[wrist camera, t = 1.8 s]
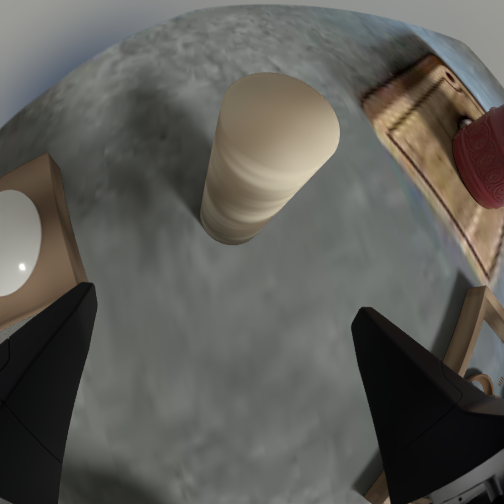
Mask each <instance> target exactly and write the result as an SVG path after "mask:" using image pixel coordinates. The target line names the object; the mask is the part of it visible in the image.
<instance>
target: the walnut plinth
mask: <svg viewBox="0 0 504 504" xmlns="http://www.w3.org/2000/svg"><path fill="white" fill-rule="evenodd" d="M80 282H88V280H87V277H86V273H85V270H84V267H83V264H82V261H81V257H80V254H79V251H78V247H77V244H76V240H75V236H74V233H73V229H72V225H71V221H70V217H69V212H68V208H67V203H66V199H65V194H64V189H63V184H62V179H61V173H60V168H59V167H58V166H57V164H56V163H55V162H54V160H53V159H52V157H51V156H50V155H49V153H48V152H47V153H45V154H43V155H41V156H39V157H37V158H35V159H33V160H31V161H29V162H28V163H26V164H24V165H22V166H20V167H18V168H17V169H15V170H13V171H11V172H10V173H8V174H6V175H5V176H3V177H1V178H0V330H3V329H5V328H7V327H9V326H11V325H13V324H16V323H18V322H20V321H22V320H24V319H26V318H29V317H31V316H33V315H35V314H37V313H40V312H41V311H42V310H44V309H45V308H46V307H48V306H49V305H50V304H52V303H53V302H54V301H56V300H57V299H58V298H60V297H61V296H62V295H64V294H65V293H67V292H68V291H69V290H71V289H72V288H73V287H75V286H76V285H78V284H79V283H80Z"/></svg>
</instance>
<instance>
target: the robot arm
mask: <svg viewBox="0 0 504 504" xmlns="http://www.w3.org/2000/svg"><path fill="white" fill-rule="evenodd" d="M96 312H97V297H96V291H95V286H94V284H93V283H90V282H80V283H79V284H78V285H76V286H75V287H73V288H72V289H71V290H69V291H68V292H67V293H65V294H64V295H62V296H61V297H60V298H58V299H57V300H56V301H54V302H53V303H52V304H50V305H49V306H48V307H46V308H45V309H44V310H42V311H41V312H40V313H39V314H37V315H36V316H35V317H33V318H32V319H31V320H30V321H28V322H27V323H26V324H25V325H23V326H22V327H21V328H20V329H18V330H17V331H16V332H15V333H13V334H12V335H11V336H10V337H9V339H8V338H7V339H6V340H5V341H4V342H2V343H1V344H0V504H58V496H59V487H60V479H61V471H62V463H63V457H64V451H65V446H66V440H67V435H68V430H69V425H70V420H71V416H72V411H73V407H74V403H75V399H76V395H77V391H78V387H79V383H80V379H81V376H82V372H83V368H84V365H85V362H86V358H87V355H88V351H89V346H90V341H91V336H92V331H93V326H94V321H95V317H96ZM351 331H352V336H353V341H354V346H355V352H356V357H357V362H358V367H359V371H360V374H361V378H362V381H363V385H364V388H365V392H366V396H367V400H368V403H369V407H370V411H371V415H372V419H373V423H374V427H375V431H376V435H377V440H378V444H379V448H380V453H381V457H382V462H383V467H384V472H385V477H386V482H387V487H388V492H389V498H390V504H409V503H411V502H413V501H416V500H418V499H420V498H422V497H424V496H426V495H428V494H429V496H430V499H431V502H430V503H428V504H504V398H496V397H492V396H489V395H487V394H486V393H484V392H483V391H481V390H480V389H478V388H477V387H476V386H474V385H473V384H471V383H470V382H468V381H467V380H466V379H464V378H463V377H461V376H460V375H459V374H457V373H456V372H455V371H453V370H452V369H451V368H449V367H448V366H447V365H446V364H444V363H443V362H442V361H439V359H438V358H437V357H435V356H434V355H433V354H432V353H430V352H429V351H428V350H427V349H425V348H424V347H423V346H421V345H420V344H419V343H418V342H416V341H415V340H414V339H412V338H411V337H410V336H409V335H407V334H406V333H405V332H403V331H402V330H401V329H400V328H398V327H397V326H396V325H394V324H393V323H392V322H390V321H389V320H388V319H387V318H385V317H384V316H383V315H381V314H380V313H379V312H377V311H376V310H375V309H373V308H372V307H361V308H360V309H359V311H358V313H357V315H356V316H355V318H354V320H353V322H352V325H351Z"/></svg>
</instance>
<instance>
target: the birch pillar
mask: <svg viewBox="0 0 504 504" xmlns="http://www.w3.org/2000/svg"><path fill="white" fill-rule="evenodd" d="M339 137H340V129H339V123H338V120H337V117H336V115H335V113H334V111H333V109H332V107H331V106H330V104H329V103H328V102H327V100H326V99H325V98H324V97H323V96H322V95H321V94H320V93H319V92H318V91H316V90H315V89H314V88H312V87H311V86H310V85H308V84H306V83H305V82H303V81H301V80H299V79H296V78H294V77H291V76H288V75H284V74H279V73H270V72H269V73H255V74H251V75H248V76H245V77H243V78H241V79H239V80H237V81H236V82H235V83H233V84H232V85H231V86H230V87H229V89H228V90H227V91H226V93H225V95H224V97H223V101H222V105H221V109H220V114H219V118H218V123H217V127H216V132H215V136H214V141H213V146H212V151H211V156H210V161H209V166H208V171H207V176H206V181H205V187H204V192H203V198H202V203H201V209H200V219H201V223H202V225H203V227H204V229H205V231H206V232H207V233H208V235H209V236H210V237H212V238H213V239H214V240H216V241H218V242H220V243H223V244H226V245H239V244H243V243H246V242H247V241H249V240H251V239H252V238H253V237H254V236H255V235H256V234H257V233H258V232H259V231H260V230H261V229H262V228H263V227H264V226H265V225H266V224H267V223H268V222H269V221H270V220H271V218H272V217H273V216H274V215H275V214H276V213H277V212H278V211H279V210H280V209H281V208H282V207H283V206H284V205H285V204H286V203H287V202H288V201H289V200H290V199H291V197H292V196H293V195H294V194H295V193H296V192H297V191H298V190H299V189H300V188H301V187H302V186H303V185H304V184H305V183H306V182H307V181H308V180H309V179H310V178H311V177H312V176H313V175H314V173H315V172H316V171H317V170H318V169H319V168H320V167H321V166H322V165H323V164H324V163H325V162H326V161H327V160H328V159H329V158H330V157H331V156H332V154H333V153H334V152H335V150H336V148H337V146H338V143H339Z"/></svg>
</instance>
